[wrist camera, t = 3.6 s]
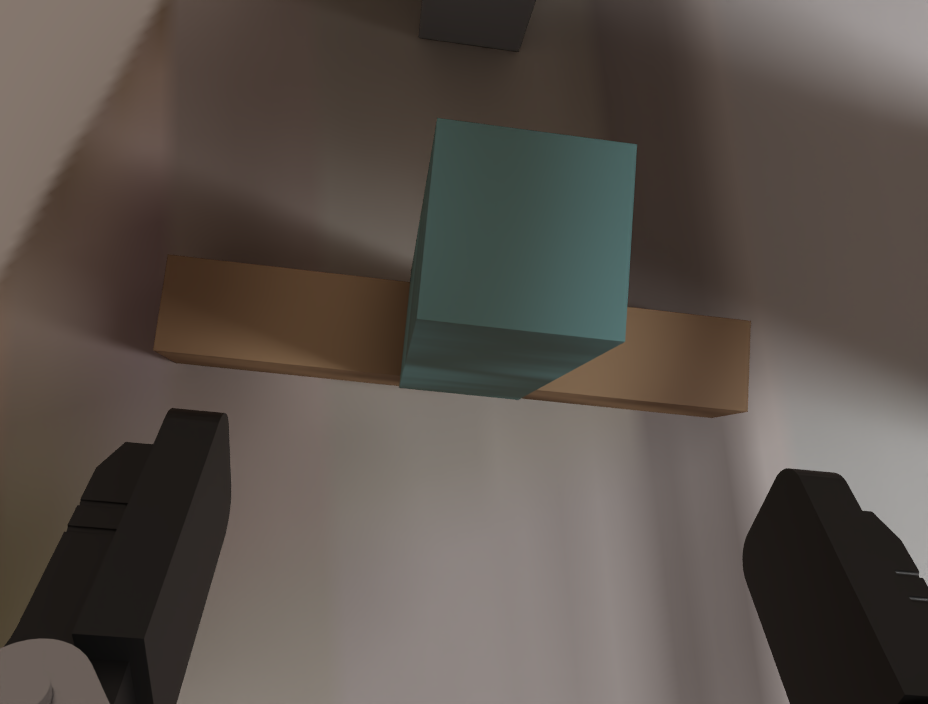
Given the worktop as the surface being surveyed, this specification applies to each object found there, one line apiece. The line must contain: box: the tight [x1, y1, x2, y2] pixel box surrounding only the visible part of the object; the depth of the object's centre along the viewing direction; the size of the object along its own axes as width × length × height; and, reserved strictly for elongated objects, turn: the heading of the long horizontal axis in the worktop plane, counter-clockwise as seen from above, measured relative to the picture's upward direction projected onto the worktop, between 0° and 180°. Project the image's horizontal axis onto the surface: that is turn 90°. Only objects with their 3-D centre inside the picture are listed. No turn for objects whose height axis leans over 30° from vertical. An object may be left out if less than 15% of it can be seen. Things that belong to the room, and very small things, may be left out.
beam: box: [153, 118, 751, 418], centre depth 17 cm, size 15×3×11 cm, turn 85°
